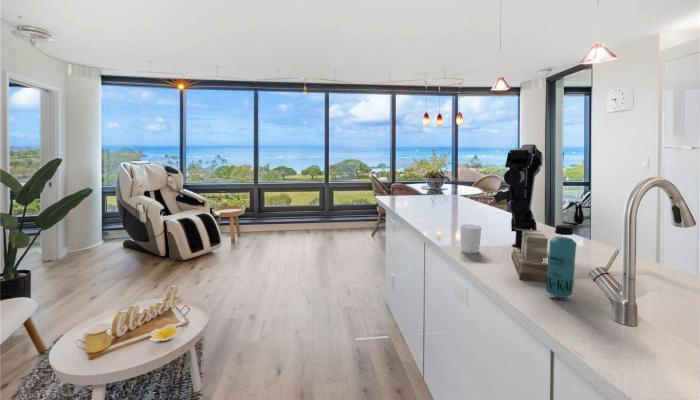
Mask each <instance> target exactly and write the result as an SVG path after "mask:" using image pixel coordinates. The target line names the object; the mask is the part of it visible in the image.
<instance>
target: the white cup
mask: <svg viewBox="0 0 700 400" xmlns="http://www.w3.org/2000/svg"><path fill="white" fill-rule="evenodd" d="M459 227H460V228H459V229H460V234H459V236H460V250H461V252H462V253H466V254H477V253H479V252H480V245H481V238H482V237H481V236H482V226H480V225H477V224H461V225H460V226H459Z"/></svg>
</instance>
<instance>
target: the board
mask: <svg viewBox="0 0 700 400" xmlns="http://www.w3.org/2000/svg"><path fill="white" fill-rule="evenodd" d="M510 257H511V260H512V262H513V266H514V267H515V270H516V273H517V276H518V278H519V280H520V281H528V282H529V281H531V282H538V283H539V282H540V283H541V282H542V283H546V278H547V271H548V264H546V263H533V262H532V263H529V262H525V261H524V259H523V257H522V255H521V252H520V250H519V248H513V251H511V256H510ZM547 257H548V258H549V254H547Z"/></svg>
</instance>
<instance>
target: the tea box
mask: <svg viewBox="0 0 700 400" xmlns="http://www.w3.org/2000/svg"><path fill="white" fill-rule="evenodd" d="M548 245H549V243H548V237H546V235H545V234H544V233H543V232H542V231H541V230H538V229H537V230H532V229H531V230H522V246H521V247H520V248H521V250H520V251H521V255H522V257H523V259H524V261H525V262H529V263H532V262H533V263H542V262H543V258H547V255H548Z"/></svg>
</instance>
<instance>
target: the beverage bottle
mask: <svg viewBox="0 0 700 400" xmlns="http://www.w3.org/2000/svg"><path fill="white" fill-rule="evenodd" d="M554 230H555V231H554V233H555V234H556V235H559V236H554V237H553V238H552V239H550V240H549V249H548V250H549V251H548V256H549V258H548V271H547V278H546V282H545V285H546V286H545V291H546V292H547V294H549V295H553V296H556V297H563V298H565V297H571V296H572V295H573V290H574V283H575V281H574V279H575V278H574V276H575V268H576V264H575V263H576V251H577V243H576V241H575V240H573V238H571V237H567V236H573V235H574V227H573V226H572V225H571V226H570V225H565V224H558V225H556V226H555V229H554ZM560 235H561V236H560ZM565 236H566V237H565Z"/></svg>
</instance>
